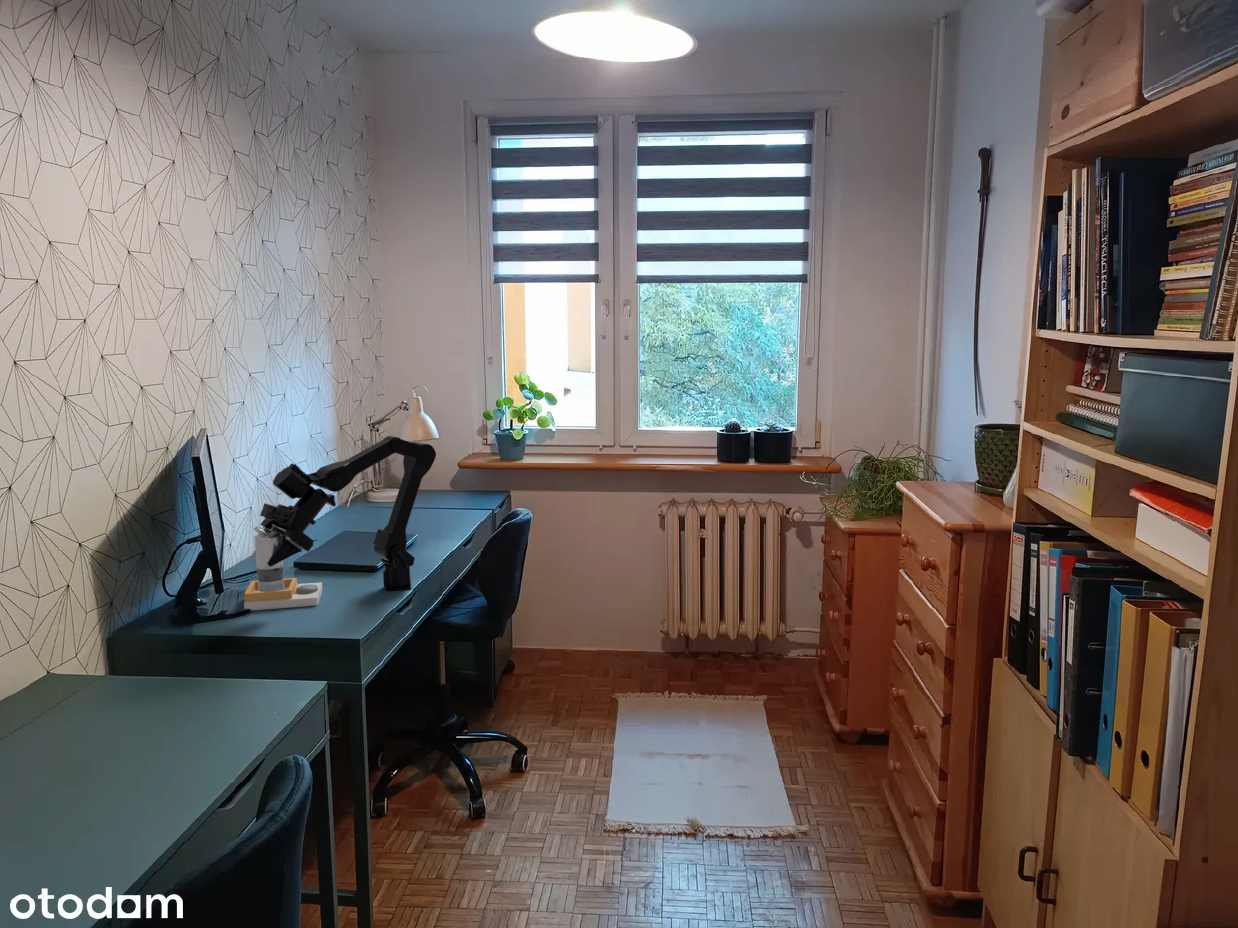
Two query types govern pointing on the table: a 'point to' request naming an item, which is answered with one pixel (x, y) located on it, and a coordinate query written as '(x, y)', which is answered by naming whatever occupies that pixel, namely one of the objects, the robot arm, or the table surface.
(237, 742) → the table surface
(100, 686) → the table surface
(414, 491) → the robot arm
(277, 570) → the spout can
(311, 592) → the white orange holder tray
